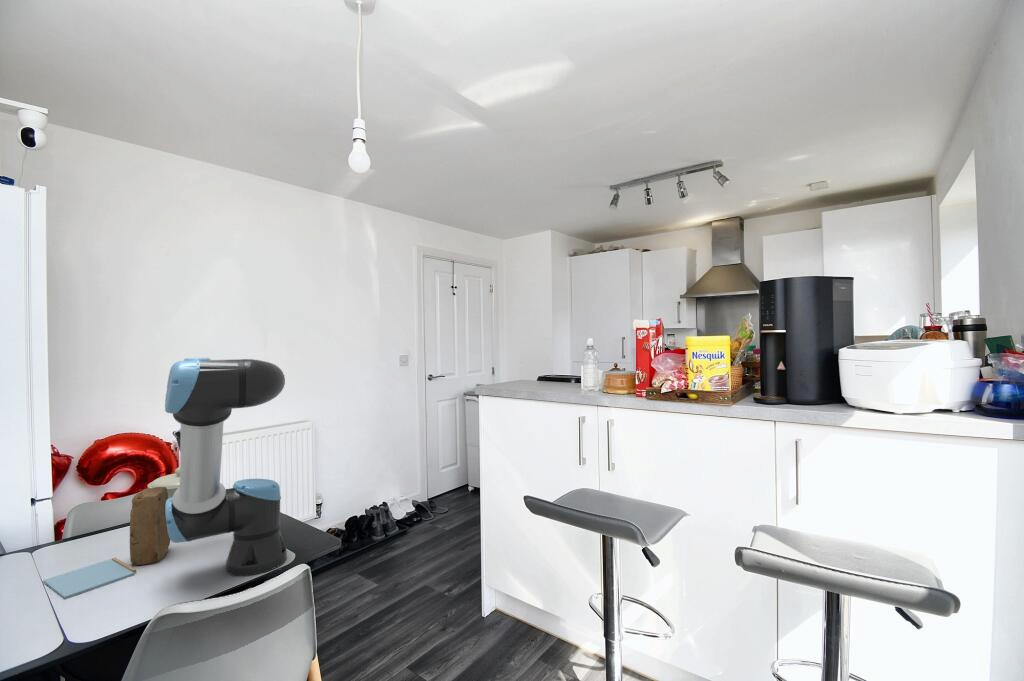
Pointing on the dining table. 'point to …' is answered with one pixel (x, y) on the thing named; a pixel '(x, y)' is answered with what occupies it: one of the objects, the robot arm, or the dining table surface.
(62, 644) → the dining table surface
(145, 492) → the pitted brown rock
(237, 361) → the robot arm
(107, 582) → the book
